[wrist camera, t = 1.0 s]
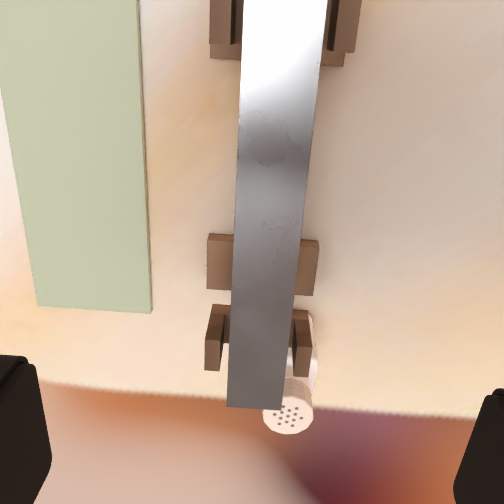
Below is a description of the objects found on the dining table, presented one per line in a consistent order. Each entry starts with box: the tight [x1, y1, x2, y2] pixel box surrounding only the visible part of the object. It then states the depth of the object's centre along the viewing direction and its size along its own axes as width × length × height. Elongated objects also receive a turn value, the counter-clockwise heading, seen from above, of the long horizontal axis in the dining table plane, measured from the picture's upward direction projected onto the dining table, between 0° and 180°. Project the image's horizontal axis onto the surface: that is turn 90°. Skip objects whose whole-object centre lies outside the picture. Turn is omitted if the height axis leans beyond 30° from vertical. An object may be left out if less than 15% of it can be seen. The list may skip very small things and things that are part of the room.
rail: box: [227, 0, 327, 411], centre depth 21 cm, size 22×3×3 cm, turn 177°
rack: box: [204, 0, 362, 377], centre depth 26 cm, size 8×20×12 cm, turn 177°
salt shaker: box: [263, 314, 319, 434], centre depth 33 cm, size 4×4×10 cm
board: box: [0, 0, 152, 314], centre depth 31 cm, size 9×26×1 cm, turn 177°
